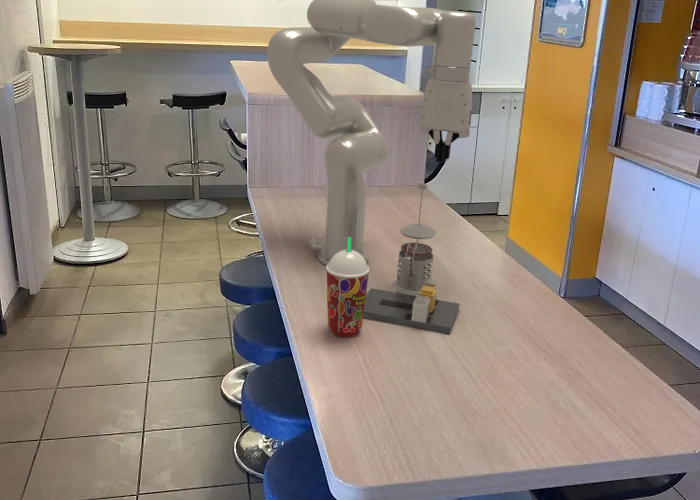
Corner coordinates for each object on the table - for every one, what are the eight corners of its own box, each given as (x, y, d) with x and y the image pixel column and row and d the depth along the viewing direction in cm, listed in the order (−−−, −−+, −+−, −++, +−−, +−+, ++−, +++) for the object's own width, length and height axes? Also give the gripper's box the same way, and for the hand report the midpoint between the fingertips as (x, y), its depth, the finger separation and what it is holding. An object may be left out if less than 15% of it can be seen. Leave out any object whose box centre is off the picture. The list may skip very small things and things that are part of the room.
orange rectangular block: (417, 310, 142) (419, 290, 140) (420, 304, 144) (422, 284, 143) (431, 312, 141) (433, 292, 139) (434, 307, 144) (436, 287, 142)
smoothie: (361, 343, 131) (367, 247, 124) (319, 337, 132) (322, 242, 125) (368, 324, 138) (374, 232, 131) (329, 319, 140) (333, 227, 133)
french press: (438, 282, 160) (449, 180, 151) (427, 302, 150) (438, 193, 141) (398, 275, 163) (406, 174, 154) (384, 294, 153) (392, 187, 144)
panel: (354, 316, 142) (356, 289, 139) (370, 294, 152) (372, 269, 150) (449, 334, 136) (452, 307, 134) (458, 309, 147) (462, 284, 145)
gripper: (410, 72, 139) (403, 160, 145) (483, 80, 134) (471, 170, 141) (420, 69, 145) (412, 153, 152) (490, 76, 140) (478, 162, 147)
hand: (441, 161), depth 146 cm, fingers closed
